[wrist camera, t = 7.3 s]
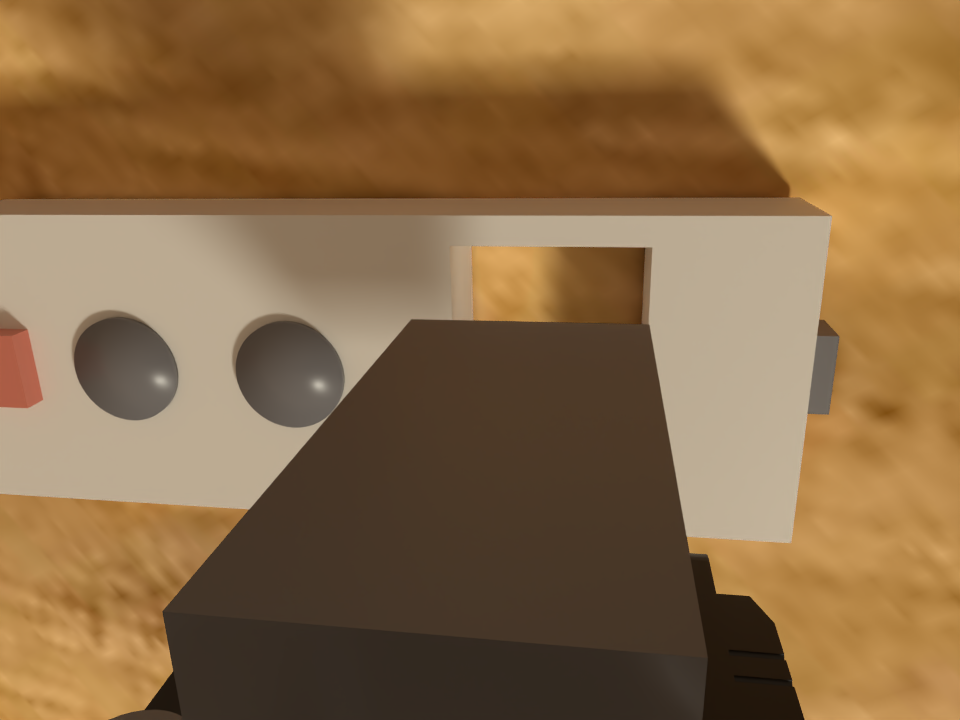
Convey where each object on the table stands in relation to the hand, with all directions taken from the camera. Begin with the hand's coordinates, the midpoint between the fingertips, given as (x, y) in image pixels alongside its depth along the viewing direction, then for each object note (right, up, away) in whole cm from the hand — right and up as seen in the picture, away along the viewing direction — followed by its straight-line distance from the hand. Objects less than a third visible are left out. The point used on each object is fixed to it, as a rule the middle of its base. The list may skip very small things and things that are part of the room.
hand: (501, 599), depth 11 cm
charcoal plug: (+1, +1, +3) cm, 3 cm away
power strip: (-3, +4, +12) cm, 13 cm away
